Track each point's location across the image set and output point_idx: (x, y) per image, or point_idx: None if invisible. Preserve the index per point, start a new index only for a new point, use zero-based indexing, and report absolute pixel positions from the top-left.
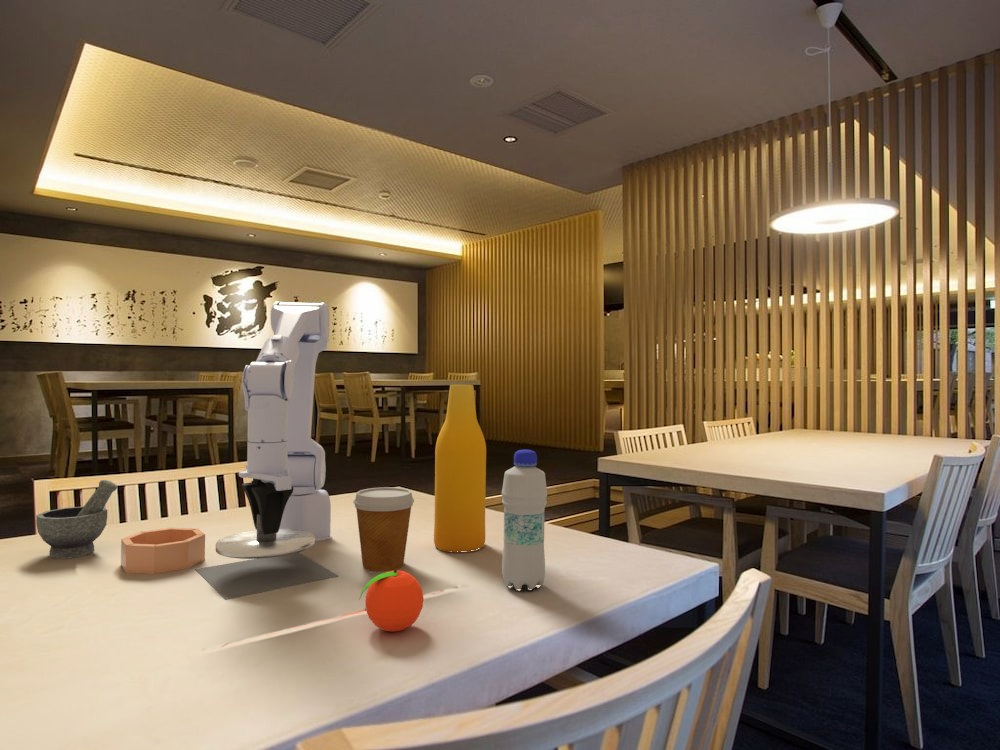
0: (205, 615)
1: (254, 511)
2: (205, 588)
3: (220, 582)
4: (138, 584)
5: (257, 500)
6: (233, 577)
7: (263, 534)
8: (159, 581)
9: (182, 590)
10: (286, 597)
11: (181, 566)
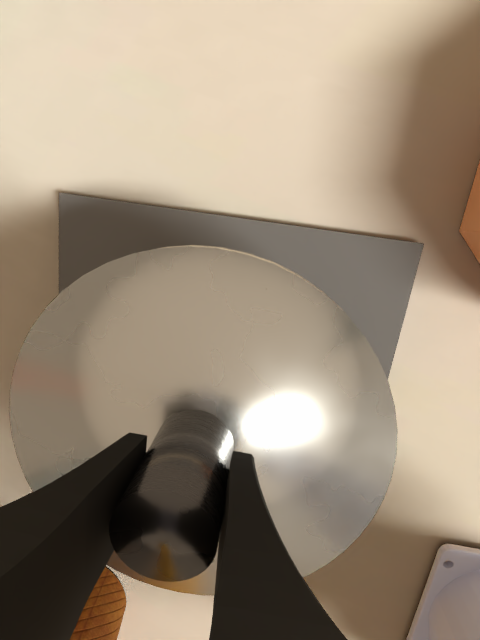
0: (3, 109)
1: (227, 511)
2: (231, 203)
3: (218, 246)
4: (449, 35)
5: (5, 542)
6: None
7: (157, 438)
8: (422, 110)
9: (264, 139)
10: (14, 332)
11: (476, 209)
